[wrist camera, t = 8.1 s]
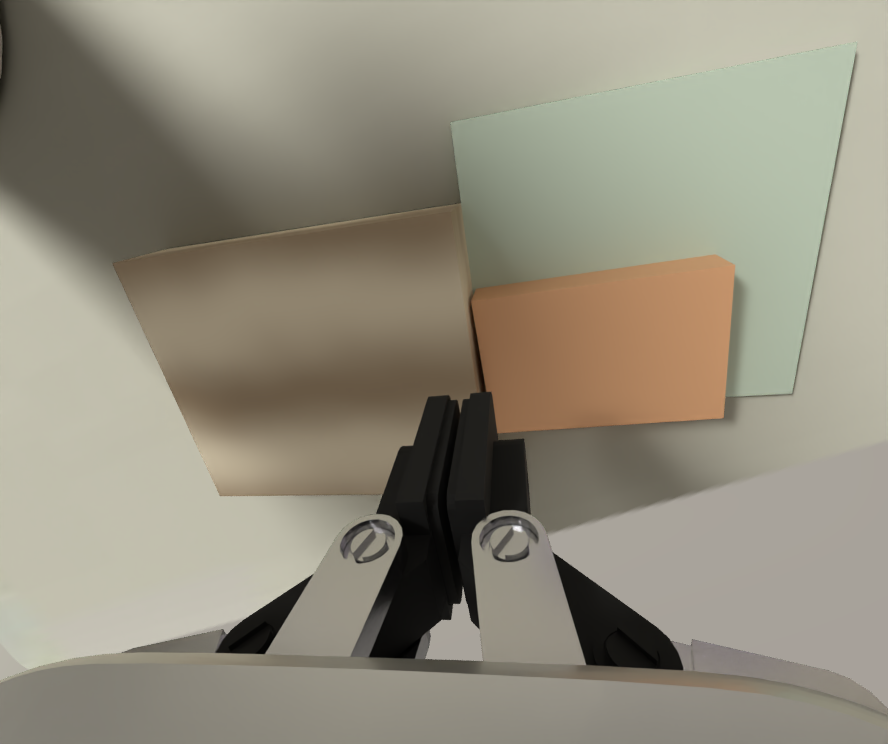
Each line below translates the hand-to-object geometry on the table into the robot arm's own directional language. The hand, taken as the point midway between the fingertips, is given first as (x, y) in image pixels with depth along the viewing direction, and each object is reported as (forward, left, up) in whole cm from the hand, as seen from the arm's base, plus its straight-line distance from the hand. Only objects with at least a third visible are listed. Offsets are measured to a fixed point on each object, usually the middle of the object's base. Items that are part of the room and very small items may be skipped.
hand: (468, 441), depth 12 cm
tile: (+1, +4, -8) cm, 9 cm away
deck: (+1, -8, -9) cm, 12 cm away
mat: (-2, +6, -9) cm, 11 cm away
